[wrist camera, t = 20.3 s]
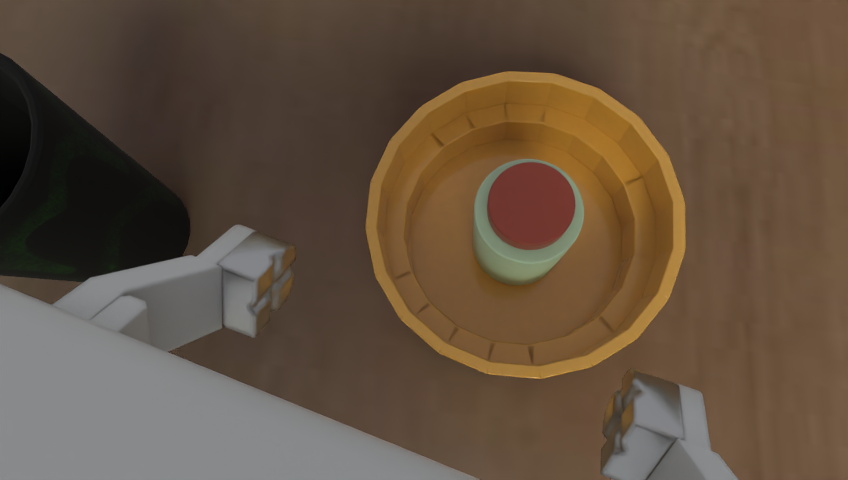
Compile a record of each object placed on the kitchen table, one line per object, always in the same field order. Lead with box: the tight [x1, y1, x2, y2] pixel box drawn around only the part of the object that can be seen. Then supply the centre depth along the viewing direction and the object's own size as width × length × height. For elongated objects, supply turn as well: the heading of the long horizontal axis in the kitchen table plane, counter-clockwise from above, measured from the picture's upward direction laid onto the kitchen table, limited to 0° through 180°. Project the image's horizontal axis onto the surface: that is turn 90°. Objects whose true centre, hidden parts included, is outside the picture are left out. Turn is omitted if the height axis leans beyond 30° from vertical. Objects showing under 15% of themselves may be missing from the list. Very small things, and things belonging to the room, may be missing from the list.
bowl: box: [365, 71, 686, 379], centre depth 26 cm, size 13×13×5 cm
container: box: [473, 159, 584, 285], centre depth 24 cm, size 4×4×7 cm
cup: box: [0, 53, 190, 282], centre depth 24 cm, size 8×8×12 cm
